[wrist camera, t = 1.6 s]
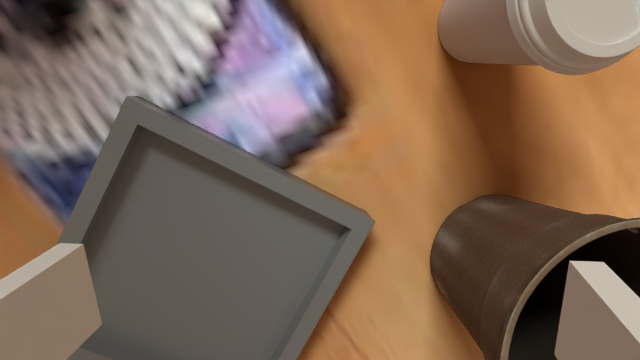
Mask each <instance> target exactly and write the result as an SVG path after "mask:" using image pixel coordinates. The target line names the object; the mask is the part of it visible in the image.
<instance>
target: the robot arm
mask: <svg viewBox="0 0 640 360" xmlns="http://www.w3.org/2000/svg"><path fill="white" fill-rule="evenodd" d="M101 325H102V321H101V317H100V313H99V308H98V304H97V300H96V296H95V291H94V287H93V283H92V278H91V274H90V270H89V266H88V261H87V257H86V253H85V249H84V244H71V243H59V244H58V245H56V246H54V247H53V248H51V249H49V250H48V251H46V252H45V253H43V254H41V255H40V256H38V257H37V258H35V259H33V260H32V261H30V262H28V263H27V264H25V265H24V266H22V267H20V268H19V269H17V270H15V271H14V272H12V273H11V274H9V275H7V276H6V277H4V278H2V279H1V280H0V360H67V359H68V358H69V357H70V356H71V355H72V354H73V353H74V352H75V351H76V350H77V349H78V348H79V347H80V346H81V345H82V344H83V343H84V342H85V341H86V340H87V339H88V338H89V337H90V336H91V335H92V334H93V333H94V332H95V331H96V330H97V329H98V328H99V327H100V326H101ZM554 354H555V356H556V358H557V360H640V298H639V297H638V296H637V295H636V294H635V293H634V292H633V291H632V290H631V289H630V288H629V287H628V286H627V285H626V284H625V283H624V282H623V281H622V280H621V279H620V278H619V277H618V276H617V275H616V274H615V273H614V272H613V271H612V270H611V269H610V268H609V267H608V266H607V265H606V264H605V263H604V262H590V261H569V267H568V273H567V279H566V285H565V291H564V297H563V304H562V310H561V316H560V322H559V328H558V334H557V340H556V347H555V353H554Z"/></svg>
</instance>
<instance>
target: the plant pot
mask: <svg viewBox="0 0 640 360" xmlns="http://www.w3.org/2000/svg"><path fill="white" fill-rule="evenodd" d="M569 261H590V262H604V263H605V264H606V265H607V266H608V267H609V268H610V269H611V270H612V271H613V272H614V273H615V274H616V275H617V276H618V277H619V278H620V279H621V280H622V281H623V282H624V283H625V284H626V285H627V286H628V287H629V288H630V289H631V290H632V291H633V292H634V293H635V294H636V295H637V296H638V297H639V298H640V218H632V219H623V218H619V217H614V216H609V215H601V214H588V215H586V214H581V213H577V212H572V211H568V210H563V209H559V208H554V207H550V206H546V205H542V204H538V203H534V202H530V201H526V200H522V199H518V198H514V197H510V196H505V195H486V196H480V197H478V198H477V199H475V200H474V201H472V202H469V203H467V204H465V205H462V206H460V207H458V208H457V209H456V210H454V211H453V212H452V213H451V214H450V215H449V216H448V217H447V219H446V220H445V221H444V223H443V224H442V225H441V227H440V229H439V231H438V233H437V235H436V237H435V240H434V243H433V246H432V250H431V257H430V264H431V272H432V275H433V277H434V280H435V283H436V285H437V287H438V289H439V291H440V293H441V294H442V295H443V296H444V298H445V299H446V300H447V302H448V303H449V305H450V306H451V307H452V309H453V310H454V312H455V313H456V315H457V316H458V317H459V319H460V320H461V322H462V323H463V325H464V326H465V327H466V329H467V330H468V332H469V333H470V334H471V336H472V337H473V339H474V340H475V342H476V343H477V345H478V346H479V347H480V349H481V350H482V352H483V355H484V358H485V360H557V358H556V356H555V354H554V353H555V347H556V340H557V334H558V328H559V322H560V316H561V310H562V304H563V297H564V291H565V285H566V279H567V273H568V267H569Z"/></svg>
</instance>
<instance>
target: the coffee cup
mask: <svg viewBox="0 0 640 360" xmlns="http://www.w3.org/2000/svg"><path fill="white" fill-rule="evenodd" d="M438 34H439V38H440V41H441V43H442V45H443V47H444V49H445V50H446V51H447V52H448V53H449V54H450V55H451V56H452V57H453V58H455V59H457V60H459V61H462V62H466V63H487V64H513V65H537V66H542V67H544V68H546V69H548V70H550V71H553V72H556V73H560V74H565V75H582V74H588V73H592V72H595V71H598V70H600V69H603V68H605V67H608V66H610V65H612V64H614V63H616V62H617V61H619V60H621V59H622V58H624V57H625V56H627V55H628V54H629V53H631V52H632V51H633V50H634V49H635V48H637V47H638V46H640V0H446V1H445V3H444V4H443V6H442V8H441V11H440V14H439V18H438Z"/></svg>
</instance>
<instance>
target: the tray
mask: <svg viewBox="0 0 640 360" xmlns="http://www.w3.org/2000/svg"><path fill="white" fill-rule="evenodd" d="M374 223H375V221H374V220H373V219H372V218H371V216H370V215H369V214H368V213H367V212H366V211H364V210H362V209H360V208H358V207H356V206H354V205H352V204H350V203H348V202H346V201H344V200H342V199H340V198H338V197H336V196H334V195H332V194H330V193H328V192H326V191H324V190H322V189H320V188H318V187H316V186H314V185H312V184H310V183H308V182H307V181H305V180H303V179H301V178H299V177H297V176H295V175H293V174H291V173H289V172H287V171H285V170H283V169H281V168H279V167H277V166H275V165H273V164H271V163H269V162H267V161H265V160H263V159H261V158H259V157H257V156H255V155H253V154H251V153H249V152H247V151H245V150H243V149H241V148H239V147H238V146H236V145H234V144H232V143H230V142H228V141H226V140H224V139H222V138H220V137H218V136H216V135H214V134H212V133H210V132H208V131H206V130H204V129H202V128H200V127H198V126H196V125H194V124H192V123H190V122H188V121H186V120H184V119H182V118H180V117H178V116H176V115H174V114H172V113H171V112H169V111H167V110H165V109H163V108H161V107H159V106H157V105H155V104H153V103H151V102H149V101H147V100H145V99H143V98H141V97H139V96H127V97H126V99H125V101H124V103H123V105H122V107H121V109H120V111H119V114H118V116H117V118H116V120H115V122H114V124H113V126H112V128H111V131H110V133H109V135H108V137H107V139H106V141H105V143H104V145H103V148H102V150H101V152H100V154H99V156H98V158H97V160H96V162H95V164H94V167H93V169H92V171H91V173H90V175H89V177H88V179H87V181H86V184H85V186H84V188H83V190H82V192H81V194H80V196H79V198H78V201H77V203H76V205H75V207H74V209H73V211H72V213H71V215H70V218H69V220H68V222H67V224H66V226H65V228H64V230H63V232H62V235H61V237H60V239H59V241H58V243H57V245H58V244H59V243H71V244H84V249H85V253H86V257H87V261H88V266H89V270H90V274H91V278H92V283H93V287H94V291H95V296H96V300H97V304H98V308H99V313H100V317H101V321H102V325H101V326H100V327H99V328H98V329H97V330H96V331H95V332H94V333H93V334H92V335H91V336H90V337H89V338H88V339H87V340H86V341H85V342H84V343H83V344H82V345H81V346H80V347H79V348H78V349H77V350H76V351H75V352H74V353H73V354H72V355H71V356H70V357H69V358H68V359H67V360H297V358H298V356H299V354H300V353H301V351H302V349H303V347H304V346H305V344H306V342H307V340H308V339H309V337H310V335H311V333H312V332H313V330H314V328H315V326H316V325H317V323H318V321H319V319H320V318H321V316H322V314H323V312H324V311H325V309H326V307H327V305H328V304H329V302H330V300H331V298H332V297H333V295H334V293H335V291H336V290H337V288H338V286H339V284H340V283H341V281H342V279H343V277H344V276H345V274H346V272H347V270H348V269H349V267H350V265H351V263H352V262H353V260H354V258H355V256H356V255H357V253H358V251H359V249H360V248H361V246H362V244H363V242H364V241H365V239H366V237H367V235H368V234H369V232H370V230H371V228H372V227H373V225H374Z"/></svg>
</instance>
